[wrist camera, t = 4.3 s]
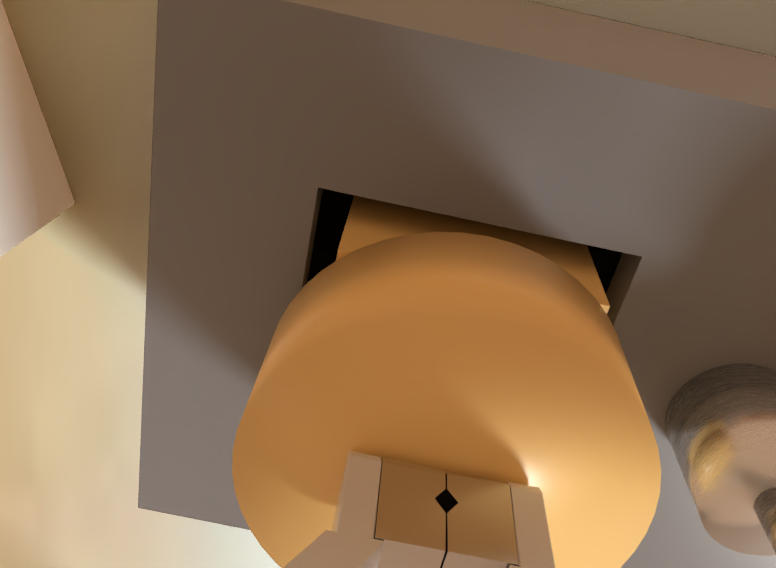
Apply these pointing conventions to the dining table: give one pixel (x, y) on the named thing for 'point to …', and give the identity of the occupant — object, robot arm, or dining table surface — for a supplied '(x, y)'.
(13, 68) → the milk
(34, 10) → the dining table surface
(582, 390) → the knob
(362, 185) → the knob housing
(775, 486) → the potentiometer
